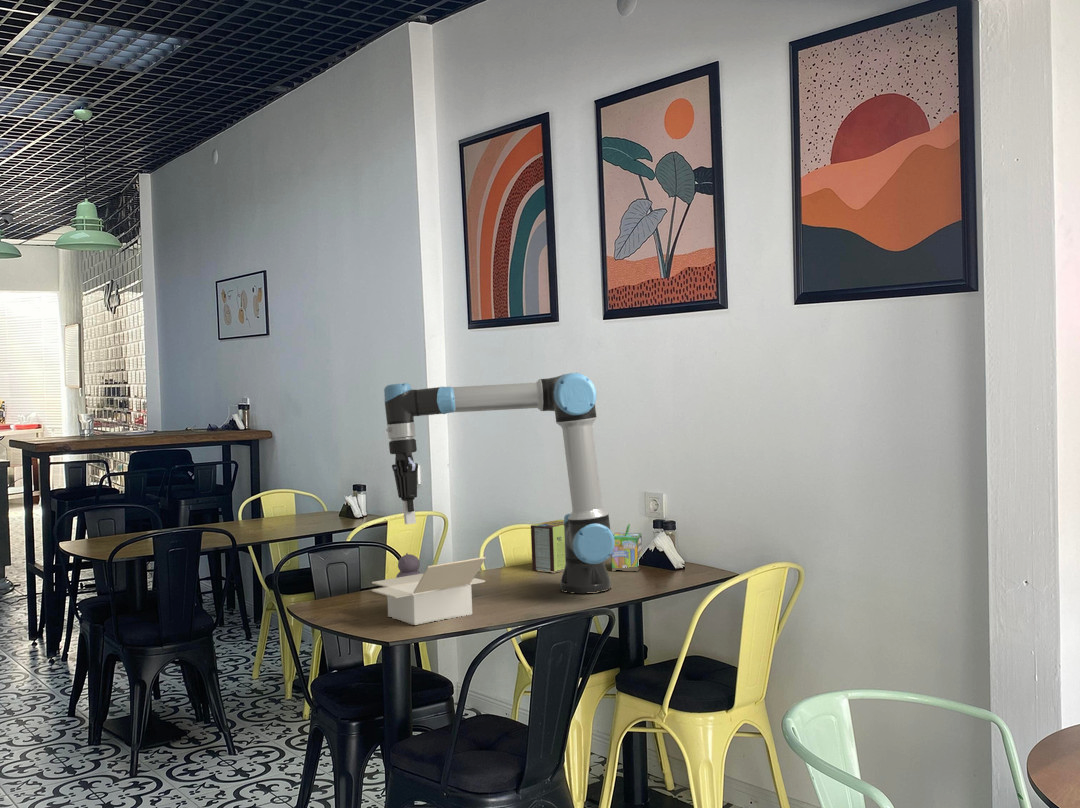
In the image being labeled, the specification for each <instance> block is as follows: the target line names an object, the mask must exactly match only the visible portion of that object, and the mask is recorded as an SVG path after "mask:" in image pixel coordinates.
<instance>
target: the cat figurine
mask: <svg viewBox="0 0 1080 808" xmlns="http://www.w3.org/2000/svg"><path fill="white" fill-rule="evenodd" d="M420 566H421V563H420V560H419V558H418V557H417V556H416V555H414V554H409V553H408V552H406V554H405V555H403V556H401V557H400V558H399V560H398V562H397V568H398V570H399V572H398V573H397V574H396V577H395V578H399V577H404V576H410V575H416V574H422V573H421V572H420V571H419V569H420Z"/></svg>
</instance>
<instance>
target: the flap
mask: <svg viewBox="0 0 1080 808" xmlns="http://www.w3.org/2000/svg"><path fill="white" fill-rule="evenodd" d="M485 560H486V556H484V557H483V556H482V557H475V558H470V559H464V560H458V561H452V562H451V561H450V562H446V563H440V564H439V563H438V564H434V565H427V568H426V569H425V570H424V572H423V573H424V574H423V576H422V578H421V580H420V581H419V583H418V585H417V587H416V589H415V590H414V592H413V593H414V594H415V593H420V592H426V591H431V590H437V589H442V588H448V587H453V586H459V585H464V584H470V583H471V581H472V580H473V578H475V577H476V574H477V573H478V572H479V570H480V569H481V566H482V564H483V563H484V562H485Z"/></svg>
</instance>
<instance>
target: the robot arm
mask: <svg viewBox="0 0 1080 808" xmlns="http://www.w3.org/2000/svg"><path fill="white" fill-rule="evenodd" d="M383 393H384V407H385V408H384V409H385V416H386V425H387V426H386V427H387V428H386V432H387V437H388V439H389V440H390V441H389V442H388V448H389V454H390V455H395V459H394V462H395V464H392V465H391V468H392V471H393V475H394V479H395V480H394V481H395V485H396V491H397V495H398V498H399V499H401V501H402V507H403V508H402V509H403V518H404V520H403V521H404V525H411V524H416V523H417V522H416V521H417V519H416V512H415V510H416V509H415V502H414V501H415V498H417V497H418V469H419V465H418V463H417V462H414V457H413V453H415V452H417V451H418V448H417V440H416V439H415V437H416V436H417V435H416V428H415V427H416V426H415V420H414V418H415V417H422V416H423V417H424V416H435V415H446V414H450V413H467V412H469V413H471V412H486V411H489V412H490V411H507V410H508V411H509V410H525V409H526V410H527V409H538V410H539V411H540V412H554V414H555V416H554V417H555V423H556V424H557V425H558V426H559V427H561V429H562V437H563V446H564V454H565V460H566V461H565V462H566V469H567V478H568V484H569V485H568V486H569V492H570V493H569V494H570V502H571V508H572V511H571V513H567V514H565V515H564V518H563V520H564V523H563V525H564V533H565V568H564V571H563V572H562V575H561V579H560V583H559V585H560V591H561V590H563V591H567V592H574V593H587V592H597V591H602V590H606V589H609V588H610V587H611V588H612V584H611V583H612V582H611V577H610V575H609V572H608V570H607V566H606V564H605V561H607V560H608V559H609V558H610V557H611V554H612V552H613V550H614V546H615V540H614V536H613V535H614V533H613V532H612V530H611V523H610V516H609V512H608V511H607V510H605V508H603V502H602V495H601V494H602V493H601V487H600V486H601V485H600V479H599V478H600V477H599V471H598V462H597V461H598V460H597V451H596V446H595V437H594V429H593V423H594V422H595V421H596V420H597V418H598V417H597V410H596V409H597V408H596V401H597V389H596V387H595V385H594V383H593V381H592V380H591V379H590V378H589V377H588V376H587V375H584V374H582V373H578V372H569V373H566V374H565V373H564V374H561V375H559V376H554V377H549V378H540V379H538V380H536V382H525V383H505V384H504V383H503V384H487V385H486V384H484V385H470V386H469V385H467V386H438V387H427V388H421V389H412V386H411V384H409V382H406V383H405V382H404V383H394V384H393V383H392V384H388V385H386V386H385V387H384V388H383ZM563 591H562V592H563Z"/></svg>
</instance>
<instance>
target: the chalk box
mask: <svg viewBox="0 0 1080 808" xmlns="http://www.w3.org/2000/svg"><path fill="white" fill-rule="evenodd" d="M630 526H631V524H630V523H629V524H628V525H627V526H626V530H625V532H615V533H613V536H614V540H615V546H614V550H613V552H612V554H611V555H610V557H611V569H612V568H625V567H626V568H627V567H628V568H629V567H638V566H639V559H640V557H641V555H642V556H643V544H642V543H643V539H642V538H643V537H642V536H643V534H642V532H629V531H630Z"/></svg>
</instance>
